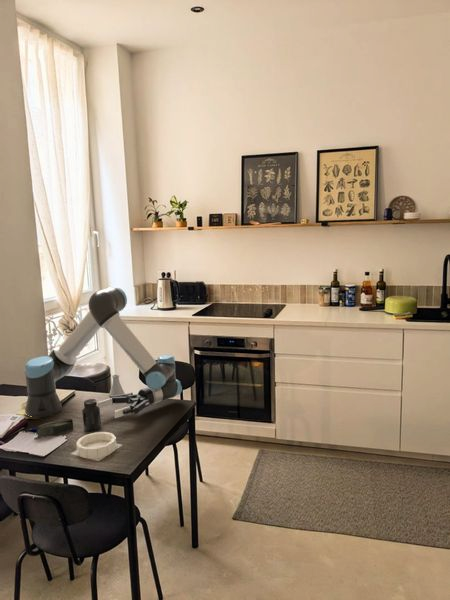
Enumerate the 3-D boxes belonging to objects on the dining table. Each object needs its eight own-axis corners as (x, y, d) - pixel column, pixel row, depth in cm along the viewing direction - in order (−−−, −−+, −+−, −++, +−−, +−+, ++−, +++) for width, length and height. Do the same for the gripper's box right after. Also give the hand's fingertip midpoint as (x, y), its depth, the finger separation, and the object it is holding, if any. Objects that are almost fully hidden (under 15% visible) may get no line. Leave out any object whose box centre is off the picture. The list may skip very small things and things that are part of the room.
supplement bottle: (94, 424, 193) (92, 396, 191) (105, 428, 189) (102, 400, 187) (80, 430, 188) (77, 401, 186) (90, 434, 183) (88, 405, 182)
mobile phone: (71, 417, 190) (32, 425, 182) (73, 419, 187) (33, 428, 179) (72, 428, 191) (33, 437, 183) (74, 431, 188) (34, 440, 180)
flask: (116, 399, 220) (114, 378, 219) (106, 396, 225) (104, 376, 223) (127, 394, 226) (126, 374, 224) (118, 391, 230) (116, 372, 229)
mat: (70, 454, 168) (70, 453, 168) (95, 439, 179) (95, 438, 179) (98, 462, 162) (98, 461, 162) (122, 445, 173) (122, 444, 173)
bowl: (69, 453, 168) (68, 444, 167) (95, 438, 179) (95, 429, 179) (98, 461, 161) (97, 451, 161) (123, 444, 173) (122, 435, 173)
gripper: (167, 411, 197) (123, 427, 183) (134, 397, 215) (92, 410, 201) (166, 394, 196) (121, 409, 181) (133, 381, 214) (90, 393, 199)
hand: (106, 410), depth 191 cm, fingers open, 13 cm apart
